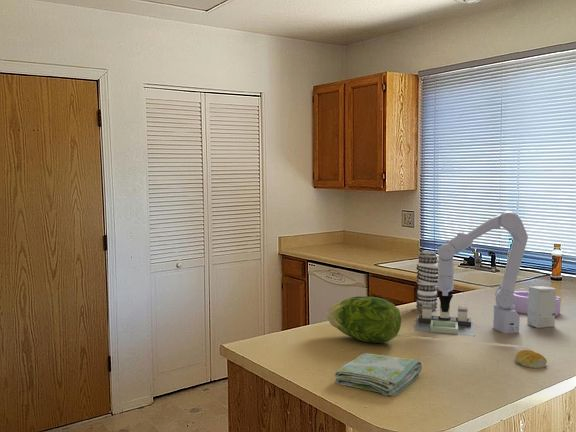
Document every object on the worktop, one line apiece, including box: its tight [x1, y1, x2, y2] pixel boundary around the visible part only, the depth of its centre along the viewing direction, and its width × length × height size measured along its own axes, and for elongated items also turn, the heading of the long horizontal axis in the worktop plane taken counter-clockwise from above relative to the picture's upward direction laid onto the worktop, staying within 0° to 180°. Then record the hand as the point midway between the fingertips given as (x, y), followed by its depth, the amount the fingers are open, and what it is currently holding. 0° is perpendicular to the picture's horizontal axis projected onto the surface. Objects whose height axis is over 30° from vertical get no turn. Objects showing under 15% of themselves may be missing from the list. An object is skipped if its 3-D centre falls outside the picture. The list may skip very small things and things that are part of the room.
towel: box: [333, 352, 423, 397], centre depth 155 cm, size 18×21×5 cm
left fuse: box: [421, 304, 433, 319], centre depth 212 cm, size 3×3×6 cm
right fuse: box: [457, 306, 468, 321], centre depth 209 cm, size 3×3×6 cm
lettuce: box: [326, 295, 402, 344], centre depth 191 cm, size 15×27×16 cm, turn 60°
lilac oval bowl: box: [513, 290, 561, 317], centre depth 233 cm, size 20×12×7 cm, turn 55°
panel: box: [413, 314, 476, 337], centre depth 206 cm, size 19×21×3 cm
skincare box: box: [526, 285, 557, 329], centre depth 210 cm, size 8×6×15 cm
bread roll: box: [514, 349, 548, 369], centre depth 169 cm, size 8×9×4 cm
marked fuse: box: [439, 303, 451, 318], centre depth 210 cm, size 4×4×6 cm
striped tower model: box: [415, 250, 438, 312], centre depth 232 cm, size 9×9×25 cm
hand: (444, 310), depth 210 cm, fingers closed on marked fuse, 3 cm apart
